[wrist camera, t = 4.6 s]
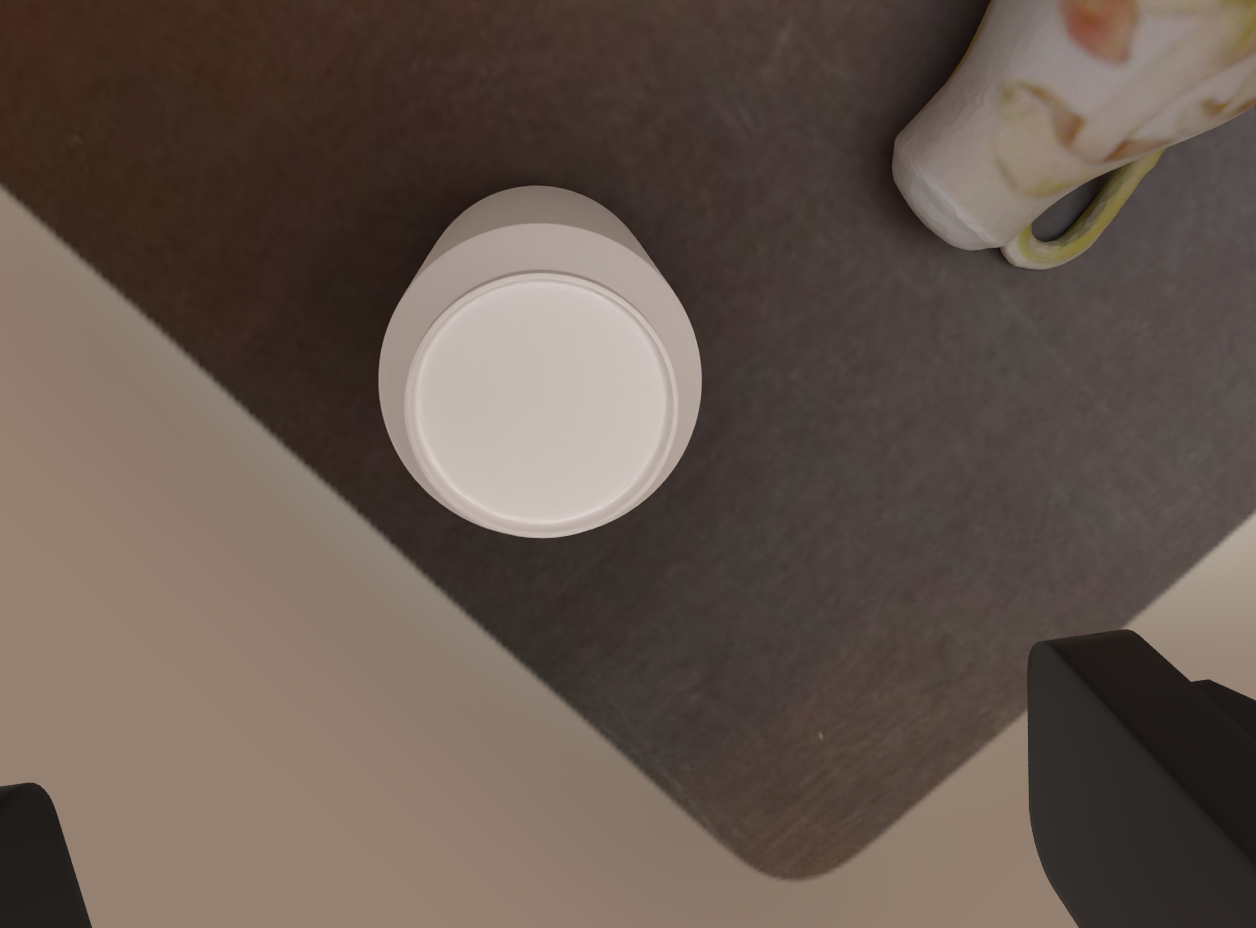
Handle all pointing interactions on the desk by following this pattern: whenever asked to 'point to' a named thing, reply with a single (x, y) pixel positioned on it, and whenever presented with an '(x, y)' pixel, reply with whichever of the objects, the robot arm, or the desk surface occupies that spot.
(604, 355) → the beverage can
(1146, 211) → the desk surface
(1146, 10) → the mug
